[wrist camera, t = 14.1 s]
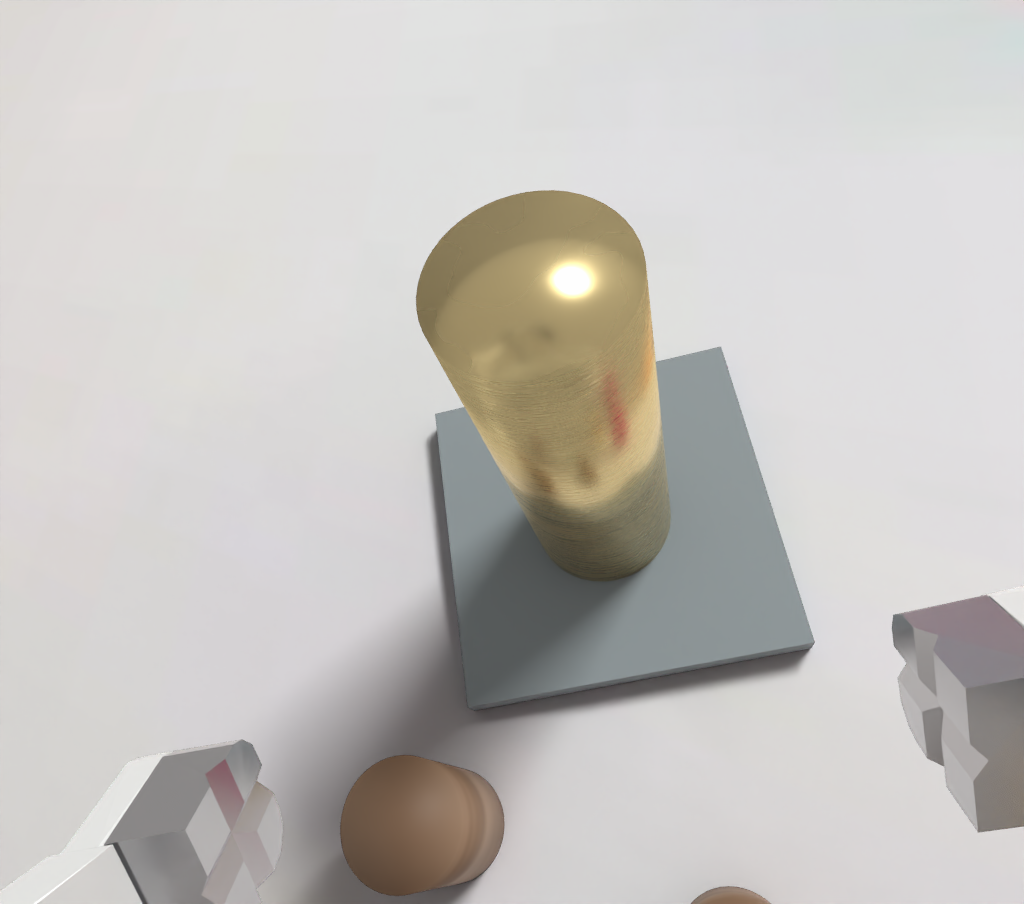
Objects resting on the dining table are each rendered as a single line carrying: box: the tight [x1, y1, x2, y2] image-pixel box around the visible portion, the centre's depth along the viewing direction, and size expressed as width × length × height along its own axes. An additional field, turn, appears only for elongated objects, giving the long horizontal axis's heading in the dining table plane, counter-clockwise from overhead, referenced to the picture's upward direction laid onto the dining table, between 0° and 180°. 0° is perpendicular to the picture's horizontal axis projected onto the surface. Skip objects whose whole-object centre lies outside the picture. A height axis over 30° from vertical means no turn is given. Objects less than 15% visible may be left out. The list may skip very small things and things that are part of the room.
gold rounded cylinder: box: [416, 190, 671, 581], centre depth 19 cm, size 4×4×12 cm
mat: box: [435, 347, 815, 711], centre depth 25 cm, size 10×10×1 cm
